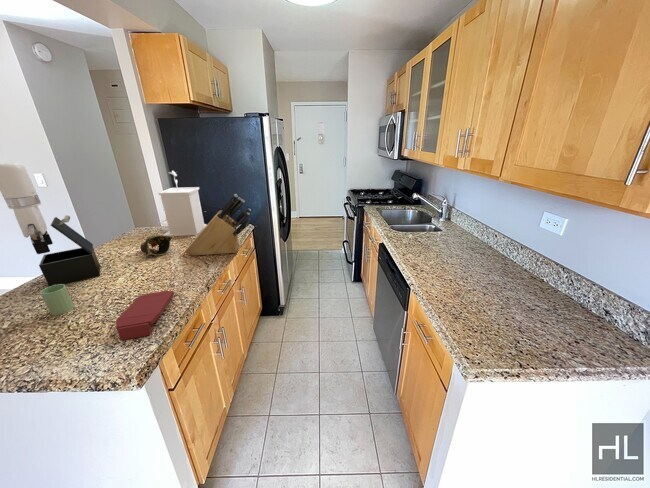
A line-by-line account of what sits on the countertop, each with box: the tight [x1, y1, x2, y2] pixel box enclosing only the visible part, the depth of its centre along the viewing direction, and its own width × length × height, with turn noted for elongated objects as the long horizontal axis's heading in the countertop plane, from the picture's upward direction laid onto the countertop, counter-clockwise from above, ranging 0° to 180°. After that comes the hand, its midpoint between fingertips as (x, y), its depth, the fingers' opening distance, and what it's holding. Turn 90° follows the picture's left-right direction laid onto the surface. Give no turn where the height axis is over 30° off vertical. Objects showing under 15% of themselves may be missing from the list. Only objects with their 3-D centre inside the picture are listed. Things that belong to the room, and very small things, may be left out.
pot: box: [139, 234, 175, 256], centre depth 142 cm, size 17×11×18 cm
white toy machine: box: [158, 170, 207, 237], centre depth 172 cm, size 24×28×40 cm
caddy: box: [38, 247, 101, 287], centre depth 117 cm, size 17×14×11 cm
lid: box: [50, 215, 94, 254], centre depth 115 cm, size 17×14×5 cm
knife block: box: [184, 193, 252, 256], centre depth 139 cm, size 11×35×31 cm, turn 99°
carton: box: [115, 290, 175, 341], centre depth 92 cm, size 12×5×25 cm
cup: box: [39, 284, 75, 316], centre depth 94 cm, size 6×6×9 cm
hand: (45, 248), depth 93 cm, fingers open, 9 cm apart
